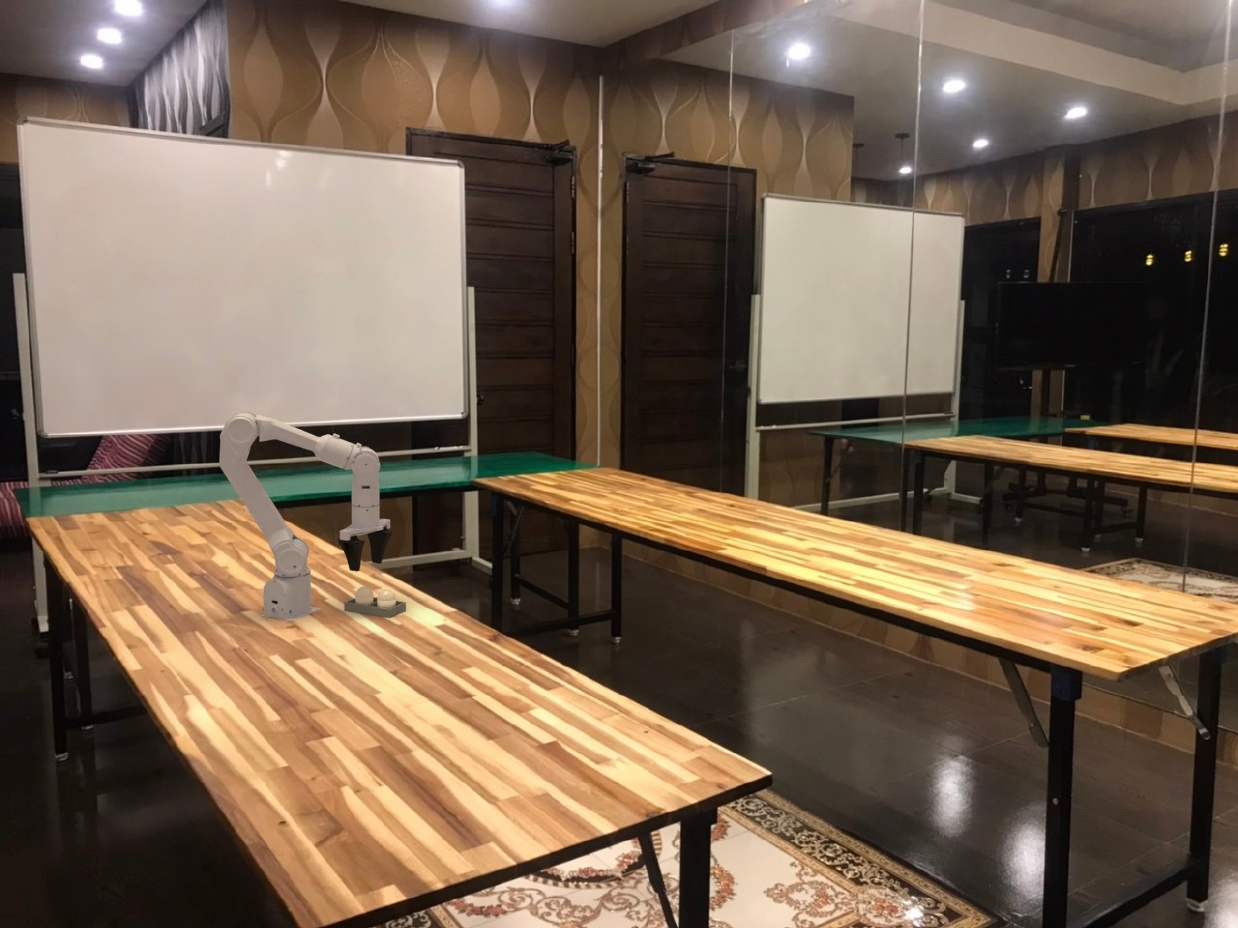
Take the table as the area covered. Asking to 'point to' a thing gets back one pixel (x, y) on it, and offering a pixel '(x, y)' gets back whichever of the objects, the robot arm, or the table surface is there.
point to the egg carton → (374, 608)
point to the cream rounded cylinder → (386, 599)
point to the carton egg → (364, 596)
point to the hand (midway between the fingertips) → (365, 566)
